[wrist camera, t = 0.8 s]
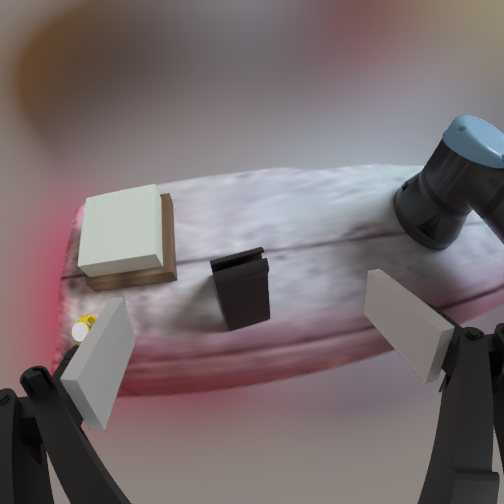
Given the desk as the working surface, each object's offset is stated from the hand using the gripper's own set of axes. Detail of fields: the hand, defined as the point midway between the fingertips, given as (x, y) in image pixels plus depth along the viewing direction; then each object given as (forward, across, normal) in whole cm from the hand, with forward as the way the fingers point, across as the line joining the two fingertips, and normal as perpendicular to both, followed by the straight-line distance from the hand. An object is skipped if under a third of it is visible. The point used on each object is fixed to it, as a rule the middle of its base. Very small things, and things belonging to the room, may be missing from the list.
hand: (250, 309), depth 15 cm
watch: (+22, -22, -16) cm, 35 cm away
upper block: (+30, -16, -2) cm, 34 cm away
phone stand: (+25, 0, -12) cm, 28 cm away
